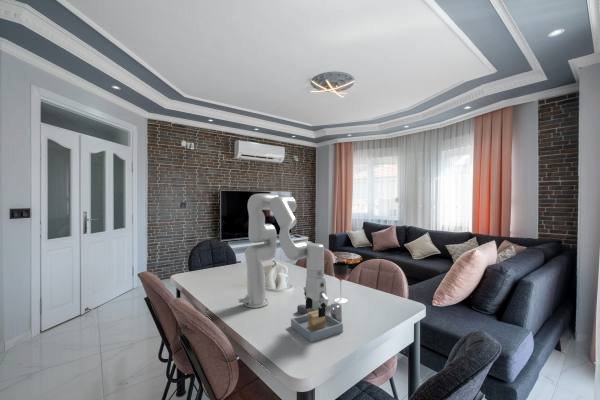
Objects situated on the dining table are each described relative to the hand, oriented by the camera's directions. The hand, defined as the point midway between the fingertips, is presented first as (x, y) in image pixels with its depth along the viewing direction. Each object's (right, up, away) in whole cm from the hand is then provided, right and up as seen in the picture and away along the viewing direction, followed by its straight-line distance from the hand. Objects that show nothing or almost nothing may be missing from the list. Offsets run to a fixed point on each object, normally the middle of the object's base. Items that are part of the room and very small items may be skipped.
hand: (315, 312), depth 117 cm
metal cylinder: (+10, -7, +7) cm, 14 cm away
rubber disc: (-5, -7, +17) cm, 19 cm away
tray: (0, -7, 0) cm, 7 cm away
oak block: (+1, -6, 0) cm, 6 cm away
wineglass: (+16, -7, +32) cm, 37 cm away
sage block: (+2, -7, +22) cm, 23 cm away
